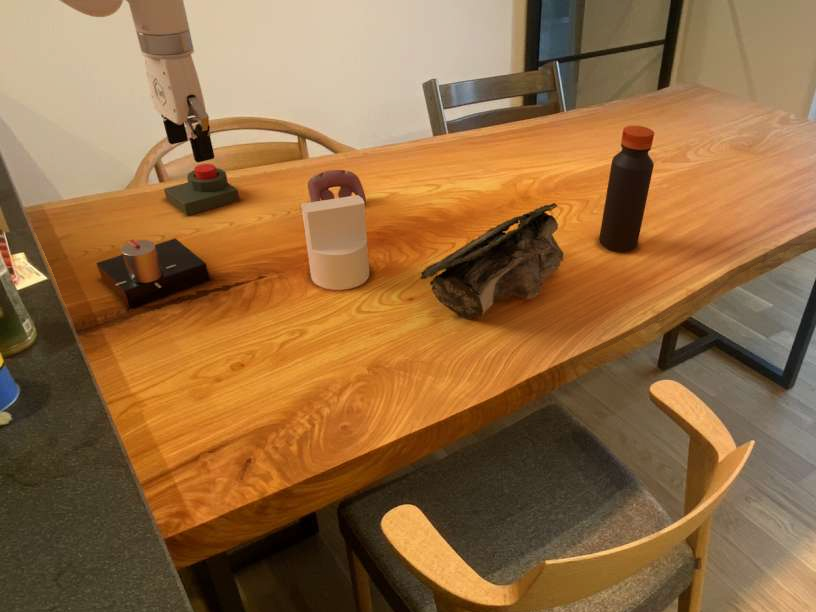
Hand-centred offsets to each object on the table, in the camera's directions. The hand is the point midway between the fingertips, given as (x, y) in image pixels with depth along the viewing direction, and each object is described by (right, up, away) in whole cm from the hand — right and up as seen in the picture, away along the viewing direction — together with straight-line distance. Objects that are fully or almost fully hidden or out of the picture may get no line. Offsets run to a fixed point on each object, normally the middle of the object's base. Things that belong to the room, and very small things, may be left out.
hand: (191, 151), depth 117 cm
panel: (+1, -24, -13) cm, 28 cm away
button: (-1, -2, +8) cm, 9 cm away
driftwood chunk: (+51, -25, -10) cm, 58 cm away
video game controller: (+22, -6, +11) cm, 26 cm away
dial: (+1, -24, -17) cm, 29 cm away
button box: (-2, -6, +9) cm, 11 cm away
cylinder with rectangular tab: (+27, -22, -8) cm, 36 cm away
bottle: (+73, -15, +5) cm, 75 cm away
